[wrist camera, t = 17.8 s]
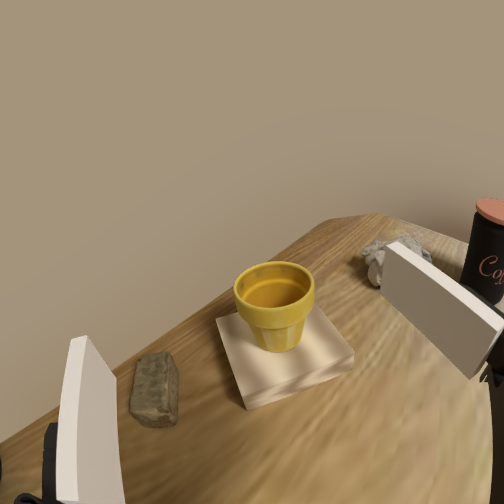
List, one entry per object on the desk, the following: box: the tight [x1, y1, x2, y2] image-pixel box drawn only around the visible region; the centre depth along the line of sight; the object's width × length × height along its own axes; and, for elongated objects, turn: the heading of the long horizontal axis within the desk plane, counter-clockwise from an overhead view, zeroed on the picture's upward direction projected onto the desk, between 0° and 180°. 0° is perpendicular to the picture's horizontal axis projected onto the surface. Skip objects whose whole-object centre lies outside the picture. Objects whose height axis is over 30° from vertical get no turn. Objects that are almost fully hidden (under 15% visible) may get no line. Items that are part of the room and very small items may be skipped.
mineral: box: [360, 236, 432, 287], centre depth 52 cm, size 12×17×10 cm
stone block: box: [130, 352, 178, 428], centre depth 37 cm, size 6×12×5 cm, turn 9°
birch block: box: [215, 302, 355, 410], centre depth 42 cm, size 16×16×4 cm
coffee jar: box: [460, 198, 504, 305], centre depth 40 cm, size 11×11×18 cm
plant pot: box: [233, 261, 314, 352], centre depth 39 cm, size 10×10×10 cm
